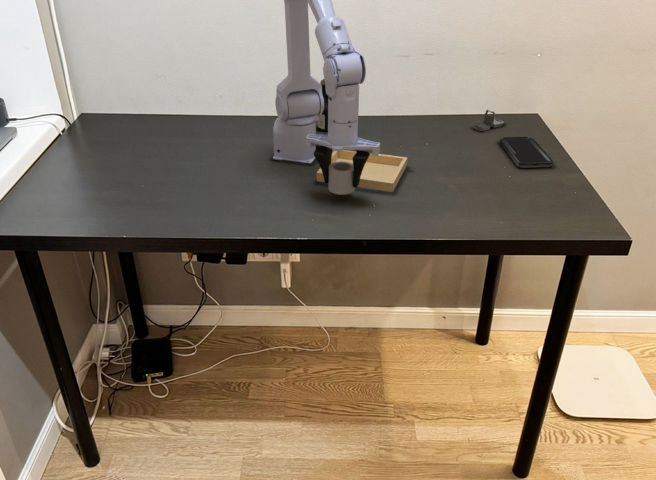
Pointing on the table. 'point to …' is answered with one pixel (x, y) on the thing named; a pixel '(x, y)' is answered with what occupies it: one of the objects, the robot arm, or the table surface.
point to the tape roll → (341, 178)
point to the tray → (374, 170)
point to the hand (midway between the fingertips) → (341, 183)
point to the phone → (525, 152)
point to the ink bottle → (323, 118)
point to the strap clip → (489, 122)
